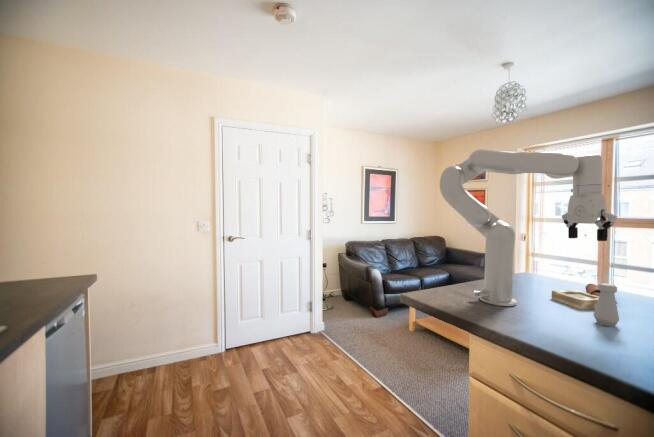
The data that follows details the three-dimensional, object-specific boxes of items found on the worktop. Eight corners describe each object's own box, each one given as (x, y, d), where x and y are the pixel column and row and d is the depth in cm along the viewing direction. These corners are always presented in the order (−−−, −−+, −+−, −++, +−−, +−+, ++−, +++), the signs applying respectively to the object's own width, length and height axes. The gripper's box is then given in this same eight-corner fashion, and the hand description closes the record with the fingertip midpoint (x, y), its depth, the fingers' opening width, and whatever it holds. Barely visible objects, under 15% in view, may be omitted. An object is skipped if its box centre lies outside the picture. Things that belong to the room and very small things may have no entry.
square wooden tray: (580, 309, 103) (580, 300, 103) (551, 298, 115) (551, 290, 115) (609, 308, 104) (610, 299, 104) (578, 298, 116) (578, 290, 116)
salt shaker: (621, 329, 86) (623, 287, 85) (596, 325, 89) (598, 284, 88) (614, 323, 91) (616, 283, 90) (591, 319, 94) (592, 280, 93)
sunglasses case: (619, 303, 105) (605, 287, 107) (597, 310, 109) (584, 294, 111) (612, 292, 119) (600, 278, 121) (593, 299, 123) (581, 285, 125)
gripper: (554, 192, 106) (554, 237, 106) (605, 188, 89) (605, 242, 89) (571, 192, 107) (571, 237, 107) (625, 188, 90) (625, 241, 90)
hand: (586, 239), depth 98 cm, fingers open, 9 cm apart
